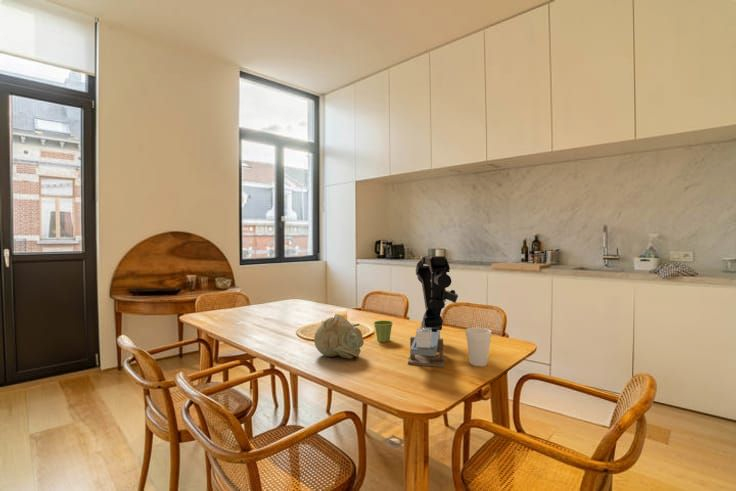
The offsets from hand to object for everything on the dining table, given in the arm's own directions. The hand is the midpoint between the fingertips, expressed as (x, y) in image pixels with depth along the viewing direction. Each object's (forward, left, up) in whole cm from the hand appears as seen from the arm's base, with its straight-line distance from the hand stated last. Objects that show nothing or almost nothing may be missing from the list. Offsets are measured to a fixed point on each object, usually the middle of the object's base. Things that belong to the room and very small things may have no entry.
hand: (438, 320), depth 160 cm
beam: (+10, -15, -11) cm, 21 cm away
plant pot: (-25, -12, -13) cm, 31 cm away
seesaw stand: (+9, -14, -13) cm, 21 cm away
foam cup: (+21, +2, -13) cm, 25 cm away
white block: (+17, -22, -4) cm, 28 cm away
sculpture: (-16, -40, -13) cm, 45 cm away
